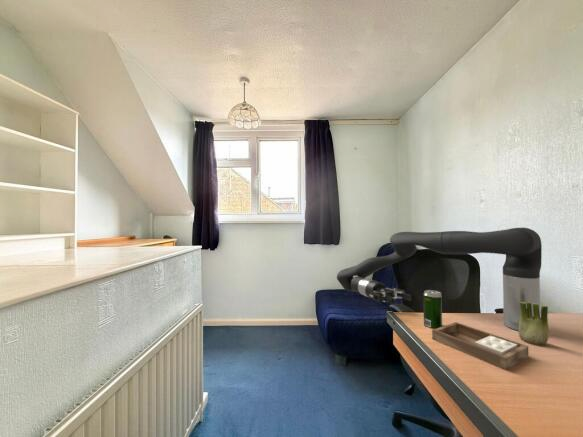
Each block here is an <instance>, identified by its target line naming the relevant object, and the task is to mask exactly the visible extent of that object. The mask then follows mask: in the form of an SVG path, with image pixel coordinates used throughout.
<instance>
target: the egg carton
mask: <svg viewBox="0 0 583 437" xmlns="http://www.w3.org/2000/svg"><path fill="white" fill-rule="evenodd" d="M475 345H477V346H479V347H482V348H484V349H487V350H490V351H492V352H495V353H497V354H500V355H504V354H506V353H508V352H510V351H512V350H514V349H516V348H517V344H514V343H511V342H508V341H505V340H503V339H500V338H497V337H494V336H491V335H490V336H488V337H486V338H483V339H481V340H479V341H476V342H475Z"/></svg>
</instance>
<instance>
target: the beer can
mask: <svg viewBox="0 0 583 437" xmlns="http://www.w3.org/2000/svg"><path fill="white" fill-rule="evenodd" d="M423 326H424V327H425V328H429V329H432V330H434V329H437V328H440V327H443V296H442V292H441V291H438V290H434V289H433V290H432V289H427V290H424V291H423Z"/></svg>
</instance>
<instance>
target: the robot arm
mask: <svg viewBox="0 0 583 437" xmlns="http://www.w3.org/2000/svg"><path fill="white" fill-rule="evenodd" d="M389 242H390V245H391V247H392V248H393V250H394V252H393V253H391V254H389V255H383V256H372V257H369V258H367V259H365V260H363V261H362V262H359V263H358V264H357V265H353V266H351V267H348V268H343V269H341V270H339V271H338V273H337V275H336V280H337V281H338V283H339V284H340V285H341V286H342V288H343V289H344V290H345V291H347V292H351V293H358V294H360V295H362V296H364V297H367V298H369V299H372V300H373V301H375V302H378V303H382V302H383V303H388V304H391V305H396V300H397V299H402V300H404V301H407V302H408V301H409V302H411V301H412V295H411V294H408V293H406V290H404V289H399V288H397V287H392V288H389V287H386V286H385V284H383V282H379V281H378V280H373V279H371V278H367V277H369V276H371V275H373V274H374V273H376V272H377V271H379V270H382V269H383V268H386V267H389V266H391V265H393V264H396V263H399V262H401V261H403V260H406V259H408V258H410V257H412V256H413V255H414V254H416V252H417V251H418V250H417V249H418V248H417V246H418V247H422V248H425V249H427V250H429V251H432V252H435V253H438V254H441V255H471V254H496V255H505V261H504V264H503V266H502V294H503V295H502V298H503V299H502V300H503V302H502V303H503V304H502V305H503V306H502V307H503V309H502V310H503V311H502V313H503V325H504V326H505V327H508V328H509V329H513V330H515V331H519V322H520V317H521V311H520V302H525V303H526V309H527V302H528V303H531V306H532V316H533V317H534V312H533V304H539V313H540V314H541V286H540V285H541V283H540V282H541V280H540V276H541V275H540V274H541V273H540V272H541V269H542V257H543V256H542V254H543V253H542V247H543V246H542V238H541V237H540V234H538V232H537V231H535V230H533V229H531V228H529V227H512V228H508V229H507V228H506V229H502V230H493V231H484V232H483V231H482V232H480V231H467V230H447V231H433V232H432V231H431V232H418V231H399V232H395V233H394V234H393V235H391V236H390V237H389Z"/></svg>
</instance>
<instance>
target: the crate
mask: <svg viewBox="0 0 583 437" xmlns="http://www.w3.org/2000/svg"><path fill="white" fill-rule="evenodd" d="M431 331H432V333H431V334H432V335H431V336H432V337H431V338H432V341H434V342H435V341H436V342H438V343H440V344H442V345H445V346H447V347H450V348H451V349H454V350H457V351H458V352H461V353H464V354H466V355H469V356H471V357H473V358H476V359H478V360H480V361H482V362H485V363H488V364H490V365H492V366H494V367H497V368H499V369H501V370H504V371H507V370H509V369H510V368H512V367H514V366H515V365H518V364H519V363H521V362H522V361H524V360H526V359H528V358H529V357H530V356H529V346H528V345H526V344H523V343H519V342H517V341H513V340H511V339H508V338H504V337H502V336H499V335H496V334H493V333H489V332H487V331H483V330H480V329H478V328H475V327H471V326H468V325H467V324H466V325H465V324H462V323H459V322H456V321H455V322H453V323H449V324H447V325H442V327H440V328H437V329H432V330H431ZM490 335H491V336H494V337H497V338H500V339H503V340H505V341H508V342H511V343H514V344H517V348H516V349H514V350H512V351H510V352H508V353H506V354H504V355H500V354H497V353H495V352H492V351H490V350H487V349H484V348H482V347H479V346H477V345H475V342H476V341H479V340H481V339H483V338H486V337H488V336H490Z"/></svg>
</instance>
